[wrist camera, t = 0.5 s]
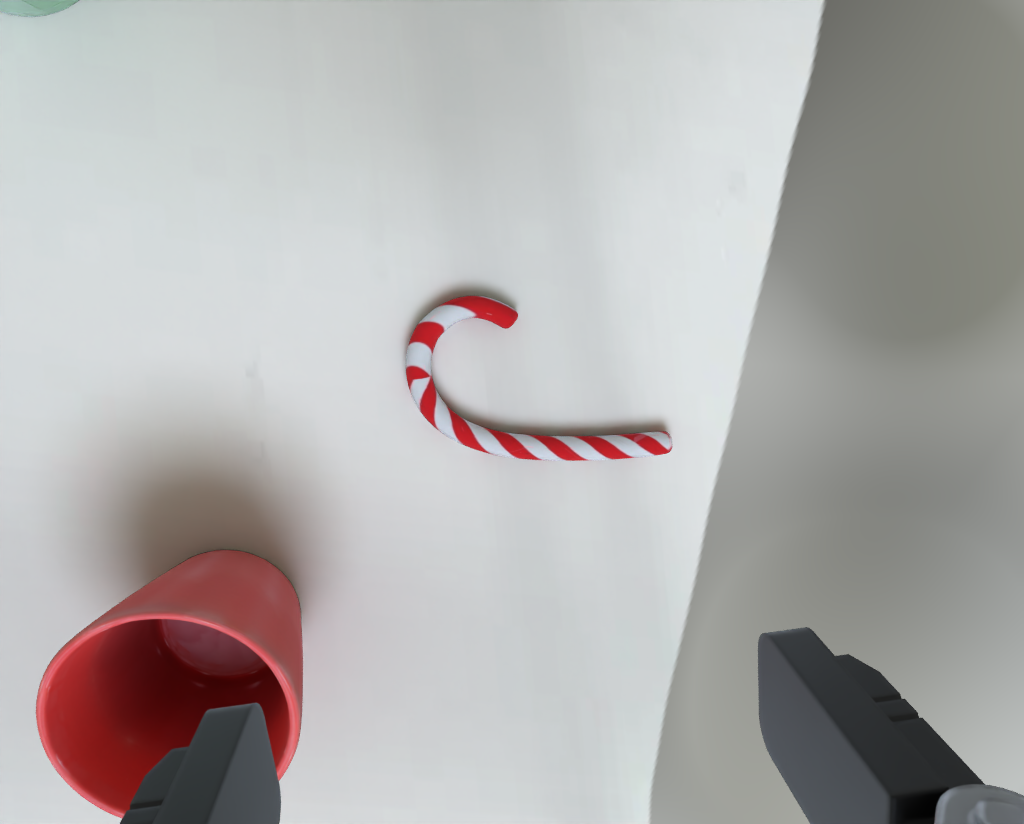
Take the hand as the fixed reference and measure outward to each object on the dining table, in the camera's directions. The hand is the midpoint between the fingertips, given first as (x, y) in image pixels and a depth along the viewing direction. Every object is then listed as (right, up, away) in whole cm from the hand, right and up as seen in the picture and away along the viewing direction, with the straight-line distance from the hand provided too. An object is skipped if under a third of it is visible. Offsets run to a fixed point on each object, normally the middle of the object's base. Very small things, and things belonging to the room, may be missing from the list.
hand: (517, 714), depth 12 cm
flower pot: (-16, -6, +30) cm, 34 cm away
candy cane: (+2, +6, +28) cm, 29 cm away
